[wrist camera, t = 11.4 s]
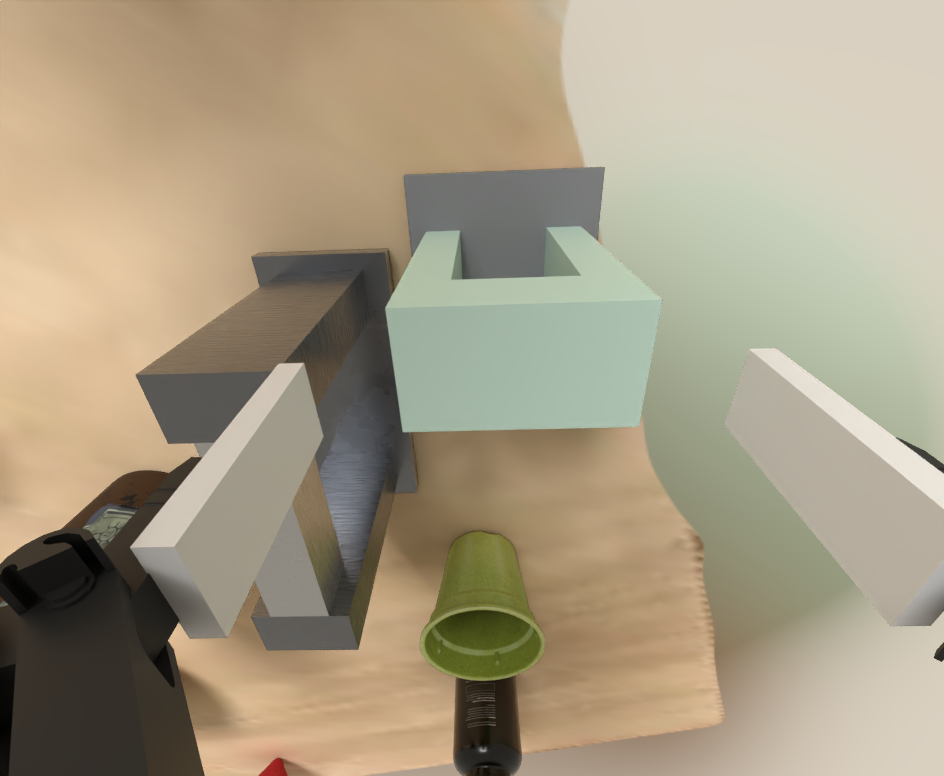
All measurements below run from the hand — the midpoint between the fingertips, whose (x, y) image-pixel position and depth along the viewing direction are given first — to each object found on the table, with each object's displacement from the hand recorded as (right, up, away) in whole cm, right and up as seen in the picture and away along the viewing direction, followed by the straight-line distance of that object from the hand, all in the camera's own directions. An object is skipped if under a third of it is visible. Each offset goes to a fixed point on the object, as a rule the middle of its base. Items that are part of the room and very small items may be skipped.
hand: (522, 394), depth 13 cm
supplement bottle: (0, -32, +37) cm, 49 cm away
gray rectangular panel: (0, +8, +14) cm, 16 cm away
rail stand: (-10, 0, +18) cm, 21 cm away
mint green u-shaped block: (0, +7, +13) cm, 15 cm away
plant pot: (-1, -15, +27) cm, 31 cm away
